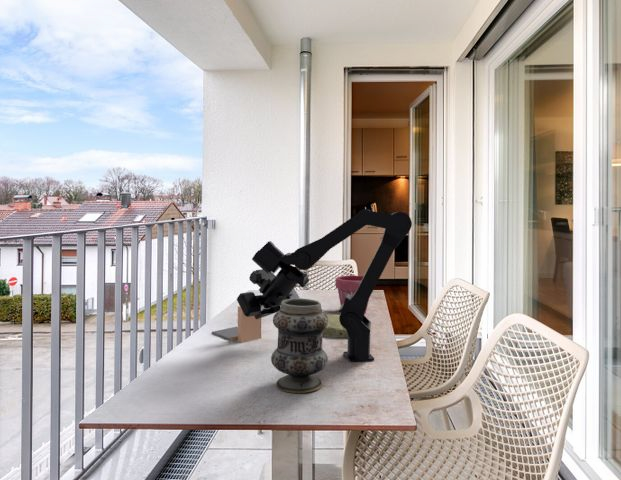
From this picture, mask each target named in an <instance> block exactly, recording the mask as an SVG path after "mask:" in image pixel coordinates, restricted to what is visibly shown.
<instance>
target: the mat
mask: <svg viewBox="0 0 621 480" xmlns="http://www.w3.org/2000/svg"><path fill="white" fill-rule="evenodd" d="M211 334H213V335H215V336H217V337H221V338H222V339H226V340H229V341H230V337H231V336H235V335H238V326H232V327H228V328H224V329H219V330H214V331H213V330H212V331H211Z"/></svg>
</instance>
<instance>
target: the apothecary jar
mask: <svg viewBox="0 0 621 480" xmlns="http://www.w3.org/2000/svg"><path fill="white" fill-rule="evenodd" d="M326 314H327V313H325V311H323V309H322V304H321V302H320V301H319V300H315V299H311V298H303V297H300V298H293V299H286V300H283V301H282V302H281V308H280V310H279V311H278V312H276V313H274V315H273V317H272V323H273V326H274V327H275V328H277V331H278V332H277V333H278V335H277V346H276V347H277V348H276V349H274V350H273V352H272V353H271V357H270V359H271V361H270V362H271V364H272V366H273V367H274V368H275V369H276V370H277V371H279V372H280V373H283V374H285V375H284V376H282V377H281V378H279V379H278V380H277V381H276V384H275V385H276V387H277V388H278V389H279V390H280V391H282V392H285V393H291V394H308V393H312V392H317V391H318V390H319V389H322V387H323V381H322V380H321V379H320V378H319V377H316V376H314V374H317V373H319V372H321V371H323V369H325V367H326V366H327V364H328V362H329V361H328V360H329V358H328V355H327V352H326V351H325V350H324V349H323V337H324V335H323V329H325V328H326V326H327V325H328V317H327V315H326Z"/></svg>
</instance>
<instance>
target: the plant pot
mask: <svg viewBox="0 0 621 480" xmlns="http://www.w3.org/2000/svg"><path fill="white" fill-rule="evenodd" d="M363 277H364V275H357V274H356V275H355V274H354V275H351V274H349V275H340V276H336V277H335V282H334V283H335V288H336V289H337V293H338V299H339V302H340V306H341V305H342V304H343V303H344V301H345V298H346V296H347V293H348V294H350V295H351V296H352V295H353V294H354V293H355V292H356V290H357V289H358V287H359V285H360V283H361V281H362V279H363ZM369 301H370V299H369V300H368V304H367V307H366V311H365V314H366V312H367V311H368V310H367V309H368V305H369Z"/></svg>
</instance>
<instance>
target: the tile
mask: <svg viewBox="0 0 621 480" xmlns="http://www.w3.org/2000/svg"><path fill="white" fill-rule="evenodd" d="M237 327H238V340H237V342H238V343H241V344H243V343H246V342H251V341H256V340H258V339H262V318H260V319H256V318H255V316H250V317H247V316H245V315H244V313H243V311H242V309H241V307H240V305H238V306H237Z"/></svg>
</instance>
